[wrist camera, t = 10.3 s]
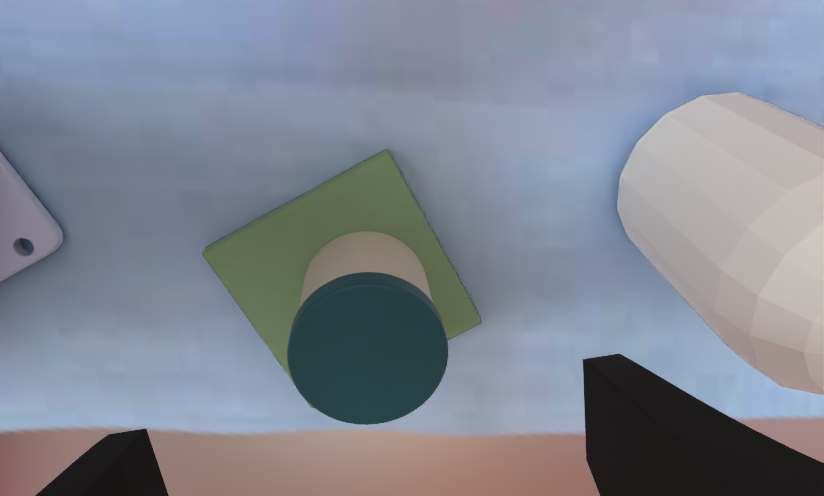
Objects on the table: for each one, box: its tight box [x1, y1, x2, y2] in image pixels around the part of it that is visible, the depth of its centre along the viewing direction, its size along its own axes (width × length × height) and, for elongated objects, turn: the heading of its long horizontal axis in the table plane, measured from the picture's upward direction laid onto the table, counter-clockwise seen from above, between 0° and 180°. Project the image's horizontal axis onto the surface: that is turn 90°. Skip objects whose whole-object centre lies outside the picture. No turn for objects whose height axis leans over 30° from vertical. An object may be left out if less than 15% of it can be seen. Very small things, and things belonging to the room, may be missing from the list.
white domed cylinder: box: [617, 92, 824, 395], centre depth 15 cm, size 5×5×8 cm
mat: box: [202, 149, 481, 408], centre depth 19 cm, size 6×6×1 cm
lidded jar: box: [287, 231, 448, 424], centre depth 17 cm, size 4×4×4 cm
